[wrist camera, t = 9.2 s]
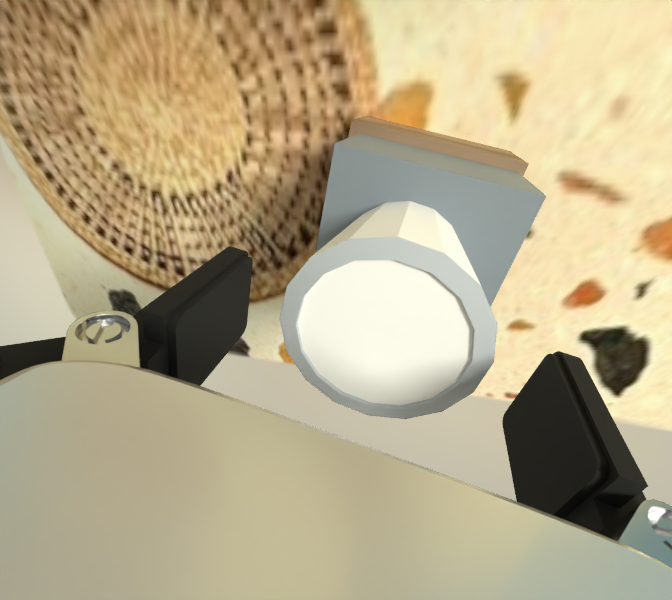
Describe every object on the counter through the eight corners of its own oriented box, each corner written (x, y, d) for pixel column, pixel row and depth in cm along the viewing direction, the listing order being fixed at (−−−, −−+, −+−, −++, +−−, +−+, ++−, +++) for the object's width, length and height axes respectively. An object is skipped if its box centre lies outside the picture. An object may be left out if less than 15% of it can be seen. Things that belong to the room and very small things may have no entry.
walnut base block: (368, 116, 25) (351, 119, 20) (509, 150, 24) (528, 164, 19) (340, 244, 31) (320, 272, 25) (454, 277, 29) (458, 314, 24)
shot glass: (495, 196, 15) (534, 258, 9) (456, 331, 18) (465, 441, 12) (336, 177, 16) (276, 220, 10) (327, 307, 19) (278, 396, 14)
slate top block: (359, 133, 20) (334, 143, 15) (517, 171, 19) (546, 196, 14) (331, 270, 25) (304, 312, 20) (457, 306, 24) (462, 361, 19)
